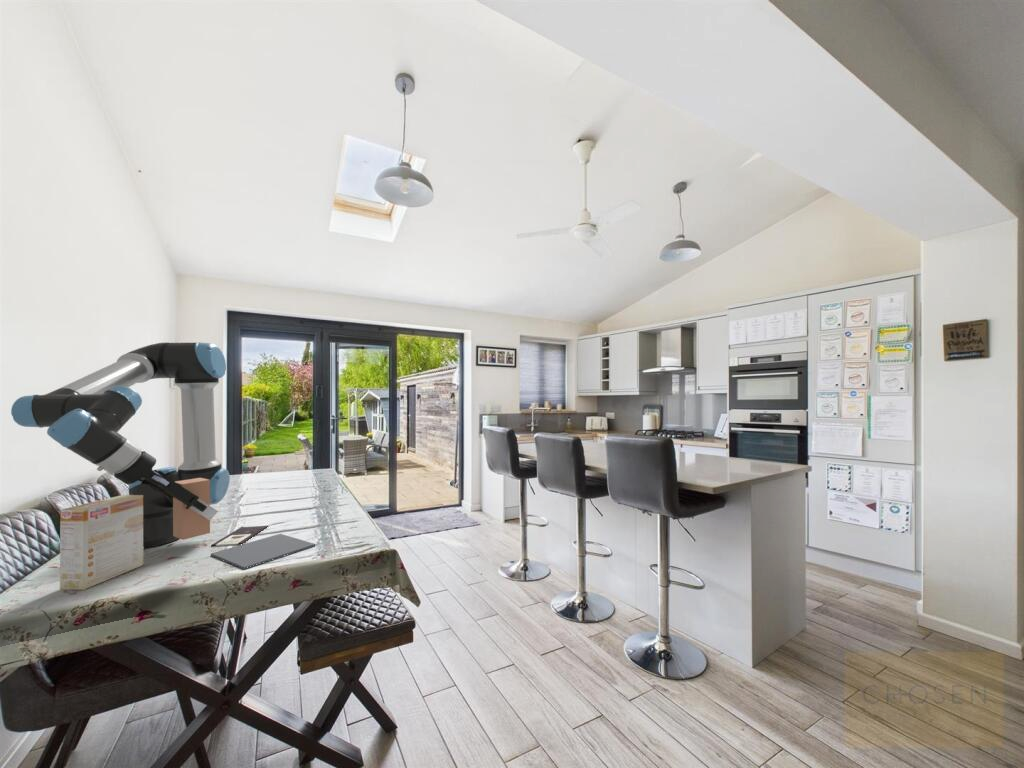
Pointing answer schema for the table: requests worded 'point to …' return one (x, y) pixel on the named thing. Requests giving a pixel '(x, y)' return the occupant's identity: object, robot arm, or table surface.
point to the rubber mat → (262, 550)
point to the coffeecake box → (100, 541)
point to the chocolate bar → (239, 536)
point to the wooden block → (187, 519)
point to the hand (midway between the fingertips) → (207, 513)
